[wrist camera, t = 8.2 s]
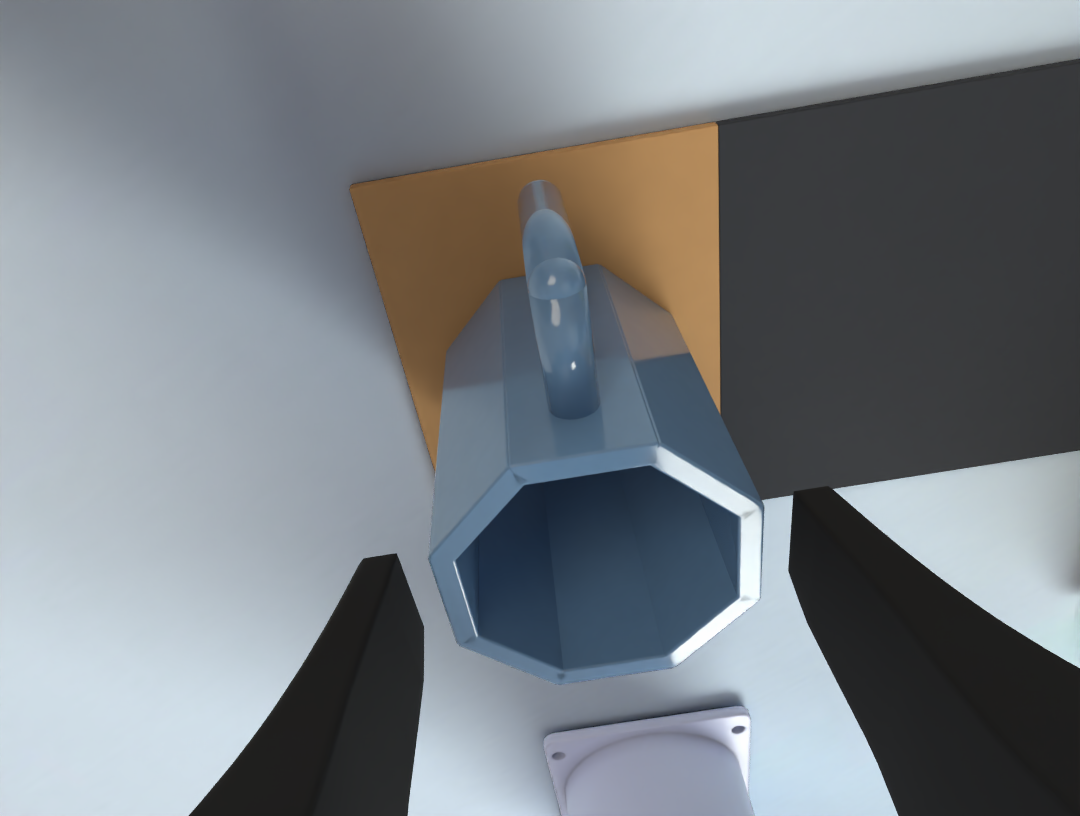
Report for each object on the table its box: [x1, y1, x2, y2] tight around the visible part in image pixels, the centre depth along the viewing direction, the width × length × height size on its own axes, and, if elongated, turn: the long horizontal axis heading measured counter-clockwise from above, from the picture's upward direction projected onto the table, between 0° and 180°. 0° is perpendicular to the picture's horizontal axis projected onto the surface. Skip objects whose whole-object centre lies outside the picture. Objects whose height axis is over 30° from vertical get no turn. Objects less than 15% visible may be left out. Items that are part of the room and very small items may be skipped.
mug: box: [428, 180, 764, 685], centre depth 15 cm, size 8×6×7 cm
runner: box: [349, 59, 1080, 500], centre depth 18 cm, size 11×20×1 cm, turn 98°
